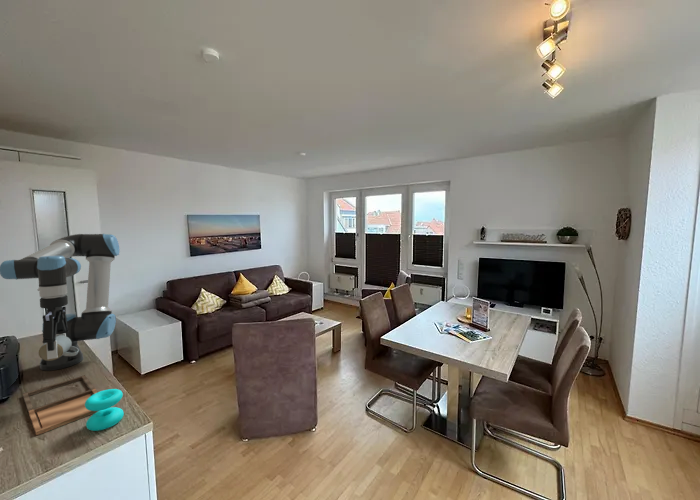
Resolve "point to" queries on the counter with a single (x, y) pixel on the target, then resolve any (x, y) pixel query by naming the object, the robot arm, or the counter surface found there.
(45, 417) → the tray
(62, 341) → the ceramic mug
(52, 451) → the counter surface
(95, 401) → the donuts
